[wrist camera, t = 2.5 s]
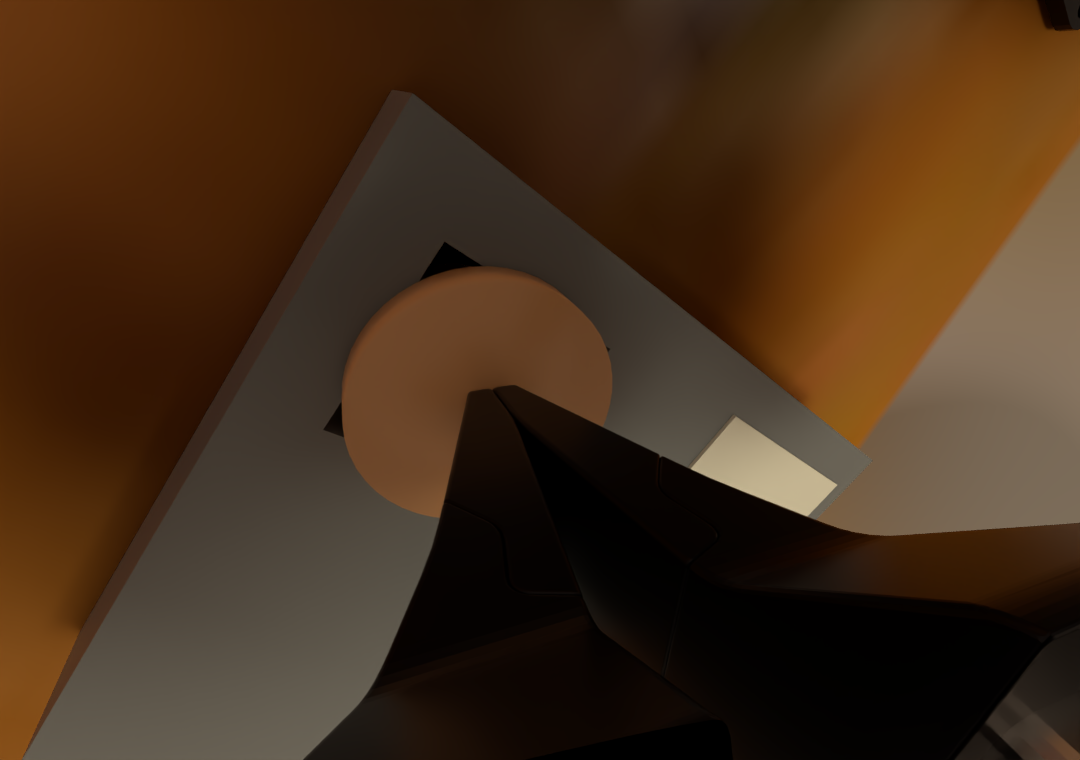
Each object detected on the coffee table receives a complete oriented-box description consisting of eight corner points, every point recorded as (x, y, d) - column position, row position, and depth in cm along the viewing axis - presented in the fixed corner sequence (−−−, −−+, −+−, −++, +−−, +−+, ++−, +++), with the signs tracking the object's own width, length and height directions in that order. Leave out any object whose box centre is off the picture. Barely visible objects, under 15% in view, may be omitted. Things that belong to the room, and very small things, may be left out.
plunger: (413, 178, 10) (448, 219, 7) (582, 296, 13) (659, 363, 10) (297, 368, 11) (286, 473, 8) (475, 443, 14) (515, 543, 11)
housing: (391, 89, 10) (413, 93, 7) (800, 409, 18) (875, 462, 16) (79, 632, 13) (18, 766, 10) (549, 689, 22) (578, 770, 19)
